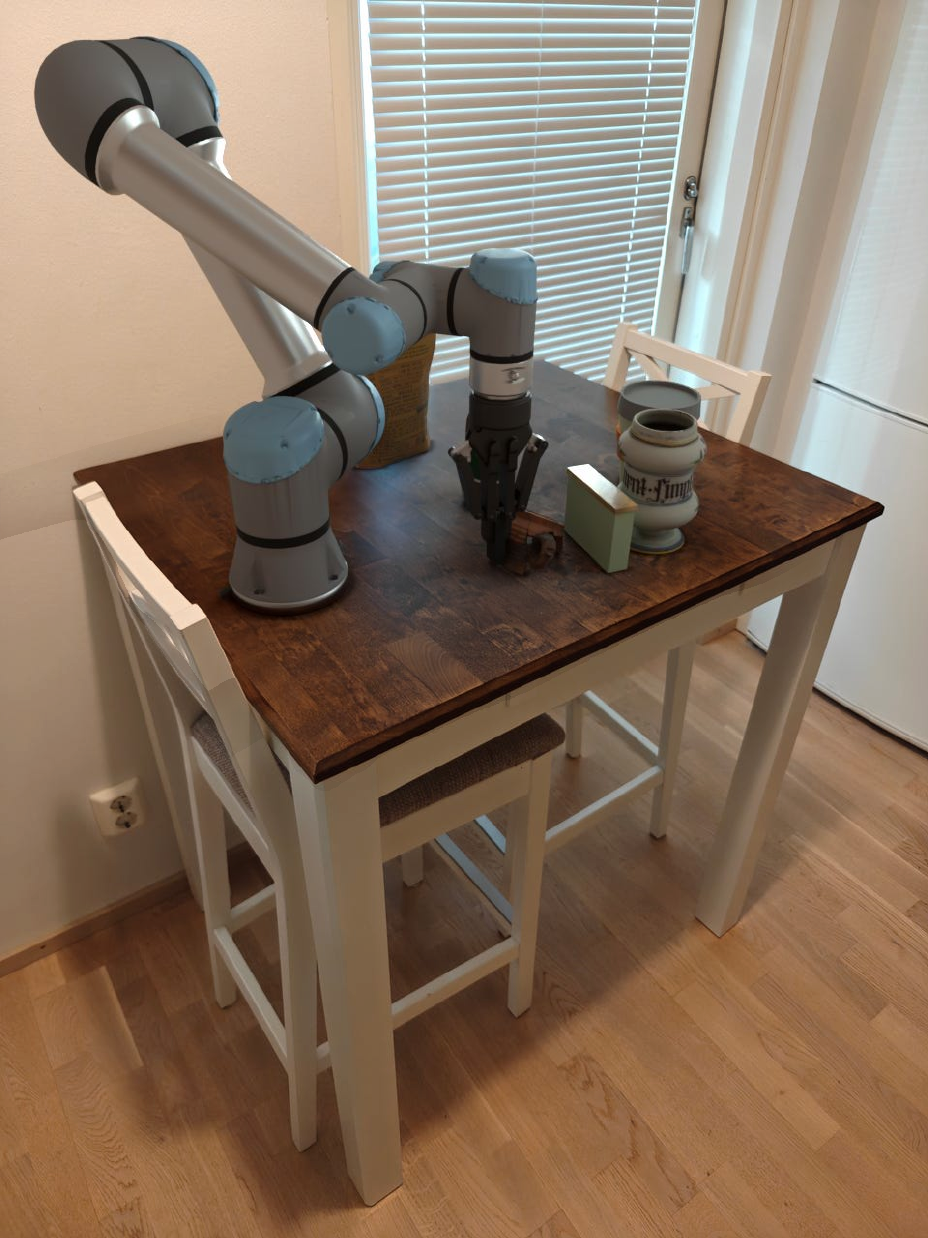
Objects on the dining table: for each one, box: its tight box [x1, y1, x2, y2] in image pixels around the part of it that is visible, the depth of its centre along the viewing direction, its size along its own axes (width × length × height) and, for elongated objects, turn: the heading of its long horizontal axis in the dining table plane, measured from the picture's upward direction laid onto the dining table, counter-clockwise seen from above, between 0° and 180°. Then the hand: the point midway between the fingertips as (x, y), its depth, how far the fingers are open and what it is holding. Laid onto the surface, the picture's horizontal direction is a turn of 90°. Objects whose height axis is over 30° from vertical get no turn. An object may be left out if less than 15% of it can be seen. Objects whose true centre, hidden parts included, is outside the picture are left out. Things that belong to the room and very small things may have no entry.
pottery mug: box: [500, 508, 565, 576], centre depth 120 cm, size 12×10×8 cm
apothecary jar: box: [616, 409, 708, 555], centre depth 123 cm, size 12×12×18 cm
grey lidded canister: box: [615, 379, 702, 484], centre depth 138 cm, size 12×13×15 cm
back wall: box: [563, 463, 638, 574], centre depth 122 cm, size 3×13×10 cm, turn 22°
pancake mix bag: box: [355, 333, 437, 470], centre depth 142 cm, size 7×19×28 cm, turn 134°
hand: (495, 559), depth 119 cm, fingers closed
